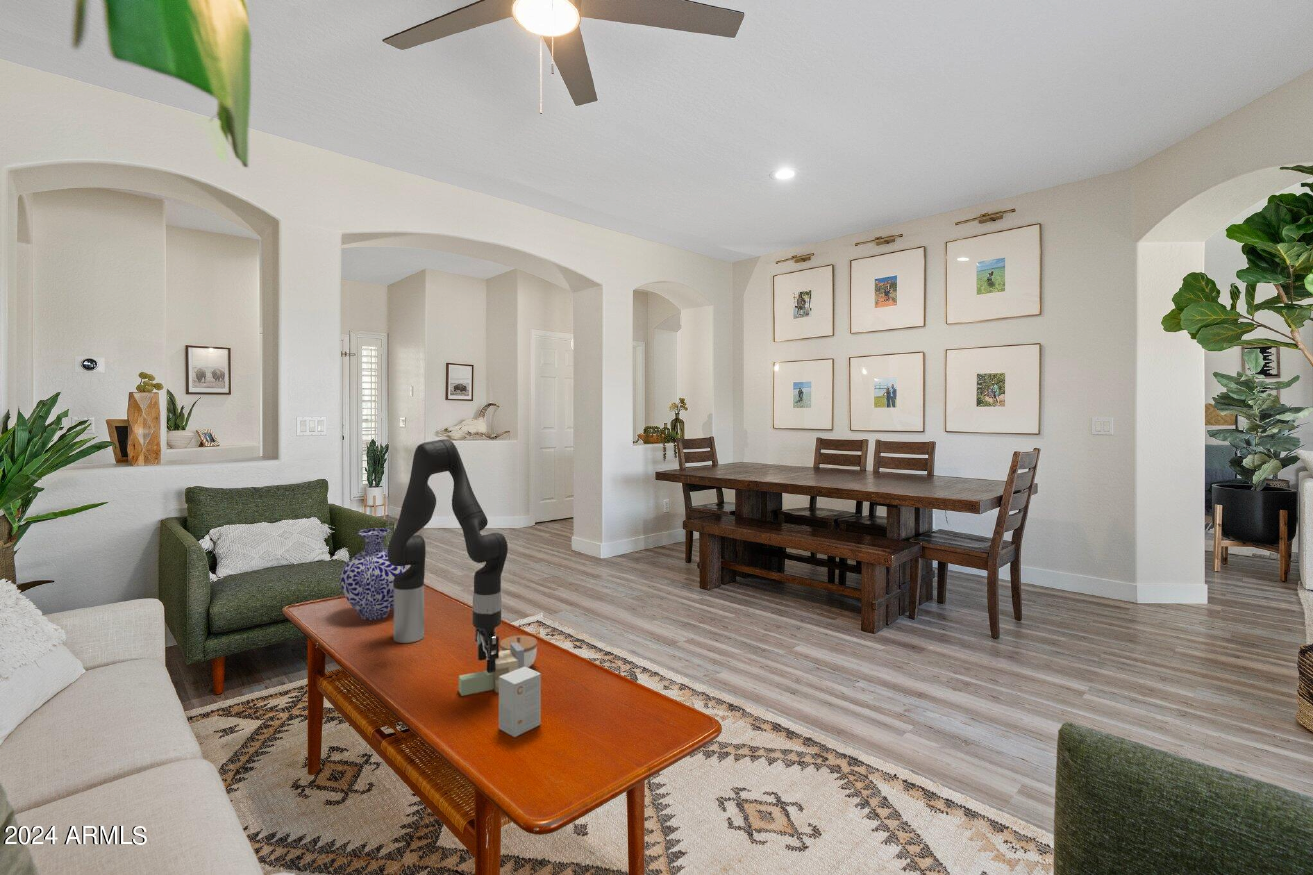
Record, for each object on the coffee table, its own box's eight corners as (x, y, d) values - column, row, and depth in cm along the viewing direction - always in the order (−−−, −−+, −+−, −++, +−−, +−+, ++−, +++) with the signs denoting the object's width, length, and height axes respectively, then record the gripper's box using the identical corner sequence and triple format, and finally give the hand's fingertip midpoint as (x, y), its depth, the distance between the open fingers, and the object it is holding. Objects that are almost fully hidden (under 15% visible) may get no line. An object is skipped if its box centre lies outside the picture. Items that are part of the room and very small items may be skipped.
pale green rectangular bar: (458, 691, 177) (458, 675, 177) (502, 682, 183) (502, 667, 183) (461, 696, 174) (461, 680, 174) (506, 687, 180) (506, 671, 180)
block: (487, 680, 183) (487, 653, 183) (508, 676, 186) (509, 649, 186) (496, 692, 176) (496, 664, 176) (517, 688, 179) (518, 660, 179)
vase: (353, 605, 242) (352, 524, 240) (414, 605, 245) (414, 525, 242) (331, 626, 221) (330, 538, 219) (397, 625, 223) (397, 538, 221)
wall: (510, 677, 185) (510, 643, 185) (516, 676, 186) (517, 642, 186) (516, 686, 180) (517, 650, 180) (523, 685, 181) (524, 649, 181)
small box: (524, 716, 164) (525, 665, 163) (541, 725, 160) (541, 673, 159) (497, 728, 158) (498, 675, 157) (514, 738, 154) (514, 684, 153)
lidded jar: (544, 664, 195) (544, 633, 194) (522, 678, 185) (522, 646, 185) (514, 657, 199) (515, 627, 199) (491, 670, 190) (492, 639, 189)
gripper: (466, 601, 182) (465, 658, 183) (480, 618, 170) (479, 679, 171) (493, 597, 186) (492, 653, 187) (508, 614, 173) (508, 673, 175)
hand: (486, 665), depth 179 cm, fingers open, 8 cm apart
